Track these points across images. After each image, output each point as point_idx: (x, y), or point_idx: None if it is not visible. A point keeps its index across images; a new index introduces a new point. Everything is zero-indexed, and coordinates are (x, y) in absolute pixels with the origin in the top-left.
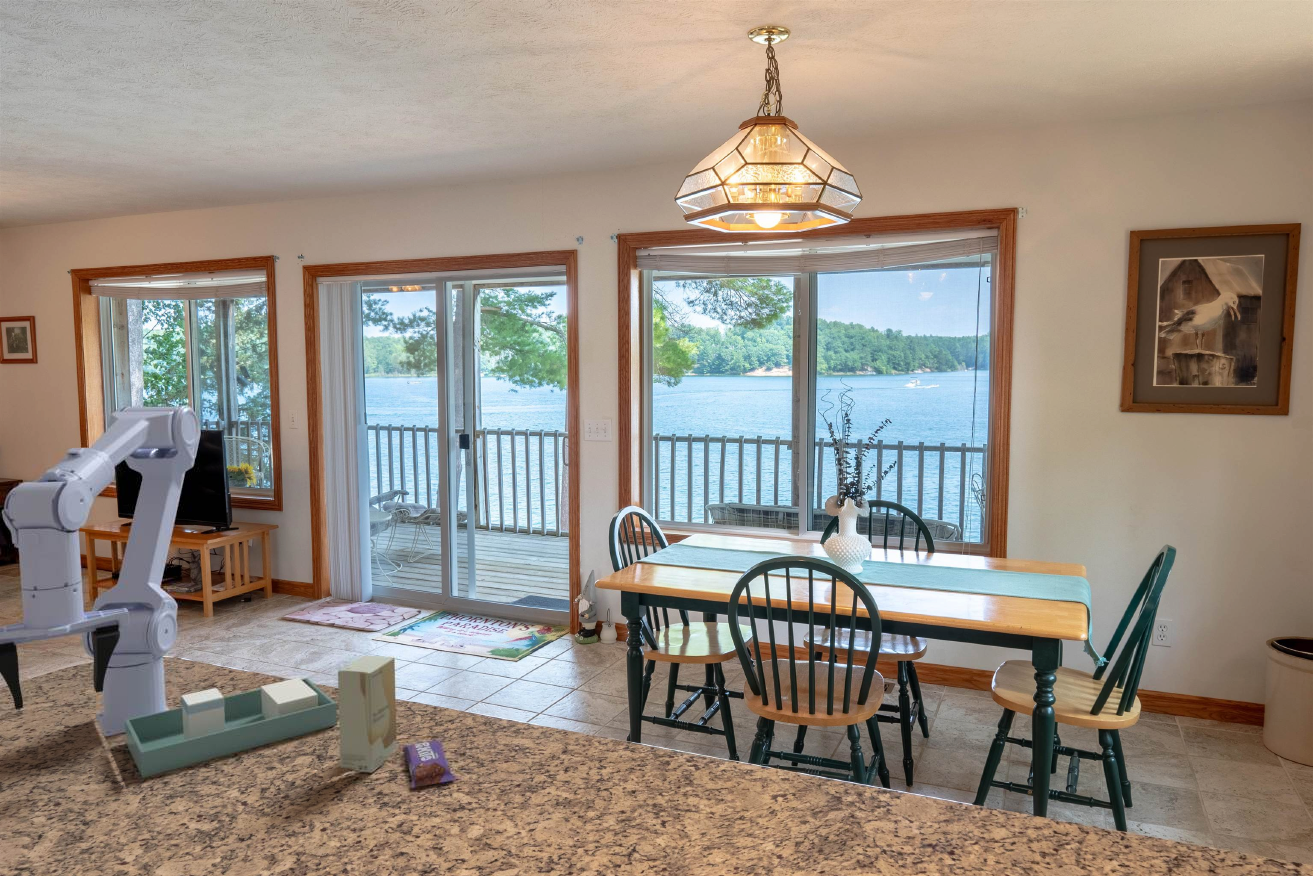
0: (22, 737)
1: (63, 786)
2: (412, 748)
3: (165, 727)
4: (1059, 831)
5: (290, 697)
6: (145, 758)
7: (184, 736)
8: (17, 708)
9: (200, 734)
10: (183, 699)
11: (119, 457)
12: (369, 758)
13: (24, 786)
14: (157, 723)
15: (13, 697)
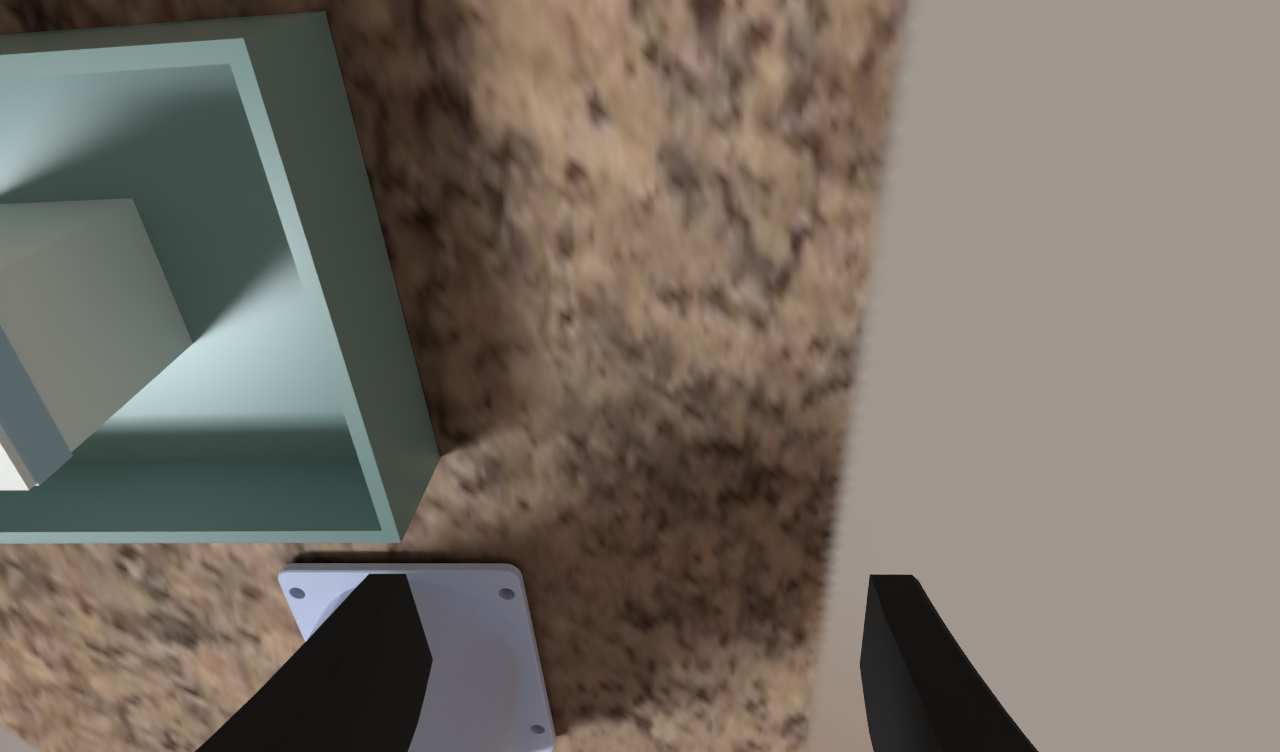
0: (777, 722)
1: (673, 210)
2: None
3: (271, 479)
4: None
5: None
6: (245, 32)
7: (168, 341)
8: (907, 577)
9: (29, 230)
10: (6, 440)
11: None
12: None
13: (816, 317)
14: (289, 498)
15: (958, 647)
